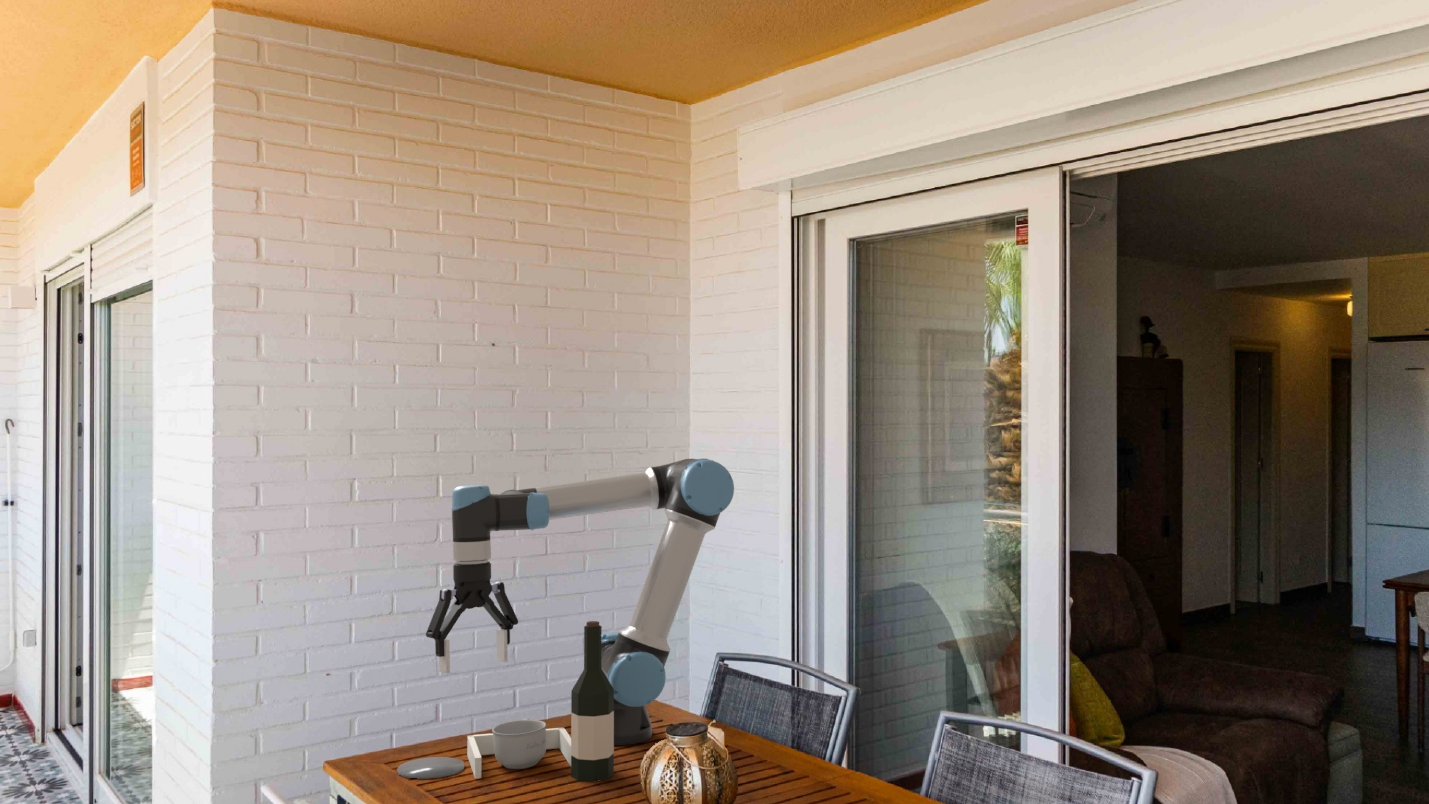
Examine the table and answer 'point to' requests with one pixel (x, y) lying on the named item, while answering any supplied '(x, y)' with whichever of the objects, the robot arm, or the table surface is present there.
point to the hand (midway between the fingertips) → (474, 666)
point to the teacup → (519, 743)
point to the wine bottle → (592, 714)
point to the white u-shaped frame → (485, 746)
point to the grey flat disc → (430, 767)
